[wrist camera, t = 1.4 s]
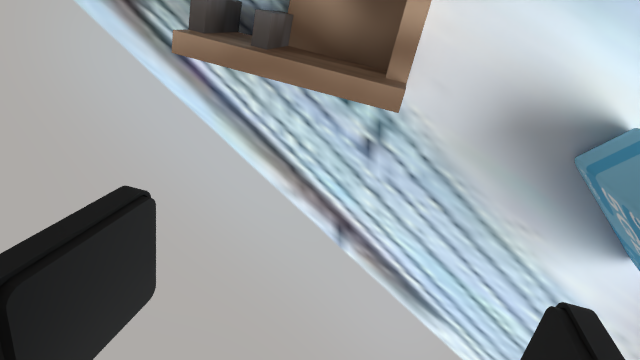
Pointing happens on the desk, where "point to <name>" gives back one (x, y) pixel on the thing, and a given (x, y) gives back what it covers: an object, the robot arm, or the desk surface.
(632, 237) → the data package
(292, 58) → the cabinet
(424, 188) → the desk surface
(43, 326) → the robot arm
